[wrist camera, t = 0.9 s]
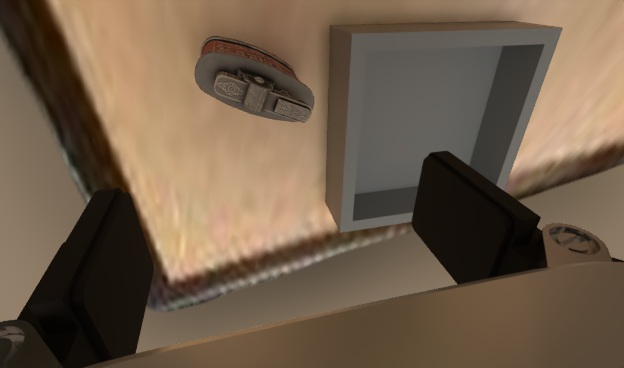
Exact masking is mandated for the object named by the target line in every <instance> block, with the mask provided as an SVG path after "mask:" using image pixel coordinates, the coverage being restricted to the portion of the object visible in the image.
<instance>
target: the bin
mask: <svg viewBox="0 0 624 368" xmlns="http://www.w3.org/2000/svg"><path fill="white" fill-rule="evenodd" d="M561 31H562V28H561V27H554V26H546V25H539V24H531V23H524V22H516V21H495V22H453V23H411V24H368V25H331V26H330V61H329V96H328V130H327V165H326V200H325V202H326V204H327V206H328V208H329V210H330V212H331V215H332V217H333V219H334V221H335V223H336V225H337V227H338V229H339V231H340V233H341V232H347V231H354V230H361V229H367V228H374V227H380V226H387V225H393V224H400V223H406V222H412V216H413V210H414V205H415V200H416V195H417V190H418V185H419V180H420V175H421V170H422V164H423V160H424V159H425V158H426V157H427V156H428V155H429V153H431V152H439V151H449V152H450V153H452V154H453V155H455V156H456V157H457V158H459V159H460V160H462V161H463V162H464V163H466V164H467V165H469V166H470V167H471V168H473V169H474V170H476V171H477V172H478V173H480V174H481V175H483V176H484V177H485V178H487V179H488V180H489V181H491V182H492V183H494V184H495V185H496V186H498V187H499V188H501V189H502V190H503V191H504V189H505V186H506V183H507V181H508V178H509V175H510V172H511V169H512V167H513V164H514V161H515V158H516V156H517V153H518V150H519V147H520V145H521V142H522V139H523V136H524V134H525V131H526V128H527V125H528V122H529V120H530V117H531V114H532V111H533V109H534V106H535V103H536V100H537V98H538V95H539V92H540V89H541V87H542V84H543V81H544V78H545V75H546V73H547V70H548V67H549V64H550V62H551V59H552V56H553V53H554V51H555V48H556V45H557V42H558V40H559V37H560V34H561Z"/></svg>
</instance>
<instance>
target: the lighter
mask: <svg viewBox="0 0 624 368" xmlns="http://www.w3.org/2000/svg"><path fill="white" fill-rule="evenodd" d="M195 79H196V83H197V84H198V86H199V88H200V89H201V90H202V91H204V92H205V93H207V94H209V95H210V96H212V97H214V98H216V99H218V100H220V101H222V102H224V103H225V104H227V105H230V106H232V107H235V108H237V109H240V110H242V111H245V112H247V113H250V114H254V115H258V116H262V117H266V118H270V119H274V120H282V121H290V122H302V123H304V122H307V121H308V120H309V118H310V116H311V113H312V110H313V106H314V96H313V94H312V91H311V90H310V89H309V88H308V87H307V86H306V85H305V84H303V83H302V82H300V81H299V80H298V78H297V77H296V74H295V72H294V70H293V69H292V67H291V66H290V65H288V64H287V63H285V62H284V61H282V60H281V59H279V58H278V57H276V56H275V55H273V54H271V53H269V52H267V51H265V50H263V49H261V48H259V47H257V46H254V45H251V44H248V43H244V42H241V41H238V40H234V39H229V38H224V37H219V36H212V37H210V38H207V39H206V40H205V42H204V43H203V45H202V47H201V53H200V58H199V60H198V62H197V64H196V67H195Z"/></svg>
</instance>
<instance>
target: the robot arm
mask: <svg viewBox="0 0 624 368" xmlns="http://www.w3.org/2000/svg"><path fill="white" fill-rule="evenodd" d="M540 218H541V217H540V216H538V215H537V214H535V213H534V212H533V211H531V210H530V209H529V208H527V207H526V206H524V205H523V204H521V203H520V202H519V201H517V200H516V199H515V198H513V197H512V196H510V195H509V194H508V193H506V192H505V191H503V190H502V189H501V188H499V187H498V186H496V185H495V184H494V183H492V182H491V181H489V180H488V179H487V178H485V177H484V176H483V175H481V174H480V173H478V172H477V171H476V170H474V169H473V168H471V167H470V166H469V165H467V164H466V163H464V162H463V161H462V160H460V159H459V158H457V157H456V156H455V155H453V154H452V153H450V152H449V151H439V152H431V153H429V155H428V156H427V157H426V158H425V159H424V160H423V164H422V170H421V175H420V180H419V185H418V190H417V195H416V200H415V205H414V210H413V216H412V227H413V229H414V231H415V232H416V233H417V234H418V236H419V237H420V238H421V239H422V241H423V242H424V243H425V244H426V245H427V247H428V248H429V249H430V251H431V252H432V253H433V254H434V255H435V257H436V258H437V259H438V260H439V262H440V263H441V264H442V265H443V267H444V268H445V269H446V270H447V272H448V273H449V274H450V275H451V276H452V278H453V279H454V280H455V282H456V283H457V284H458V285H453V286H448V287H443V288H438V289H434V290H428V291H424V292H419V293H414V294H409V295H404V296H399V297H395V298H390V299H385V300H380V301H375V302H370V303H365V304H361V305H356V306H351V307H347V308H342V309H337V310H332V311H327V312H323V313H318V314H314V315H309V316H304V317H300V318H294V319H290V320H285V321H280V322H276V323H271V324H266V325H262V326H257V327H253V328H248V329H243V330H239V331H234V332H229V333H225V334H220V335H216V336H211V337H206V338H202V339H197V340H193V341H189V342H184V343H180V344H175V345H171V346H167V347H162V348H158V349H153V350H150V351H145V352H141V353H136V349H137V344H138V339H139V335H140V331H141V326H142V322H143V318H144V313H145V309H146V304H147V300H148V295H149V291H150V286H151V282H152V277H153V272H154V267H153V261H152V258H151V255H150V252H149V249H148V246H147V243H146V240H145V237H144V234H143V231H142V228H141V225H140V222H139V219H138V216H137V213H136V210H135V207H134V204H133V201H132V198H131V196H130V194H129V193H128V192H124V193H123V192H122V190H121V189H120V188H115V189H106V190H98V191H96V192H95V193H94V195H93V196H92V198H91V200H90V201H89V203H88V205H87V206H86V208H85V210H84V212H83V213H82V215H81V217H80V219H79V220H78V222H77V223H76V225H75V227H74V228H73V230H72V232H71V233H70V235H69V237H68V238H67V240H66V242H64V243H63V244H62V245H61V247H60V248H59V250H58V252H57V254H56V255H55V257H54V258H53V260H52V262H51V263H50V265H49V267H48V269H47V270H46V272H45V273H44V275H43V277H42V278H41V280H40V282H39V284H38V285H37V287H36V288H35V290H34V292H33V293H32V295H31V297H30V299H29V300H28V302H27V303H26V305H25V307H24V308H23V310H22V312H21V313H20V315H19V317H18V318H17V320H8V321H3V322H0V368H624V261H622V260H619V259H615V258H612V257H611V256H610V253H609V251H608V248H607V247H606V245H605V244H604V242H603V241H601V240H600V239H599V238H598V237H597V236H595V235H593V234H592V233H590V232H588V231H586V230H584V229H581V228H579V227H576V226H573V225H568V224H562V223H552V224H548V225H546V226H545V227H543V229H542V231H541V230H540V229H538V228H537V225H538V223H539V220H540ZM135 353H136V354H135Z"/></svg>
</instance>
